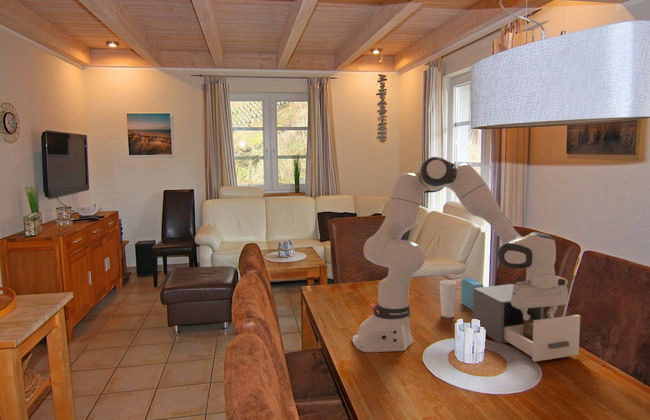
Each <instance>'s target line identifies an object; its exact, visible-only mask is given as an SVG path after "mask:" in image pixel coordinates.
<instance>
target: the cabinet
mask: <svg viewBox="0 0 650 420" xmlns="http://www.w3.org/2000/svg"><path fill="white" fill-rule="evenodd" d="M514 284H515V283H514ZM514 284H513V283H507V284H501V285H490V286H484V287H480V288H474V294H473V311H472V320H473V319H478V320H480V325H481V327H484V328H485V329H486V334H487V335H486V334H485V335H486V336H488V337H489V338H491V339H492V340H494V341H495V342H497V343H499V344H500V343H502V344H507V343H508V344H510V343H509V342H507V341H506V340H504V327H506V326H514V325H522V324H523V322H524V321H526V320H524V319H523V313H522V312H521V310H520V309H517V308H515V307H513V306H512V305H511V297H512V292H513V285H514ZM544 308H545V307H536V308H528V311H526V312H527V314H528V315H530V320H541V319H544V310H545V309H544Z"/></svg>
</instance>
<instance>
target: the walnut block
mask: <svg viewBox="0 0 650 420" xmlns="http://www.w3.org/2000/svg"><path fill="white" fill-rule="evenodd" d="M533 322H534V320H526V321H524V322H523V337H525V338H527V339H529V340H530V341H532V342H533Z"/></svg>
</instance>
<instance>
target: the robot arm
mask: <svg viewBox="0 0 650 420" xmlns="http://www.w3.org/2000/svg"><path fill="white" fill-rule="evenodd" d="M444 188H448V189H450V190H451V191H452V192H453V193H454V194H455V196H456V197H457V199H458V200H459V202H460V203H461V206H462V207H464V209H465V210H466V211H467V212H468V213H469V214H470V215H472V216H474V217H478V218H480V219H482V220H484V221H486V222H487V223H488V224H489V225H490V226H491V228H492V229H493V231H494V233H496V235H497V236H498V237H499V239H500V240H501V242H502V245H501V246H499V247H500V248H499V249H498V251H497V258H498V261H499V262H500V264H502V266H503V267H505V268H508V269H511V270H512V269H514V270H515V269H526V274H525V275H526V276H525V277H526V278H525V279H526V280H524V281H517V282H516V283H514V285H513V292H512V297H511V305H512V306H513V307H515V308H517V309H520V310H521V312H522V313H523V319H524V320H530V315H528V314H527V312H526V311H528V308H536V307H544V308H545V307H550V308H549V310H548V311H546V317H547V319H548V318H555V313H556V311H557V310H558V306H565V305H566V304H567V303H568V301H569V300H568V299H569V290H568V287H567V286H568V282H569V281H568V279H567V278H564V277H561V276H559V275H557V274H556V271H555V263H556V261H557V260H556V257H557V251H556V250H557V248H556V245H557V244H556V241H555V239H554V237H552V236H551V235H549V234H548V233H544V232H540V231H539V232H537V231H532V232H531V233H529V234H527V235H525V236H524V235H522V234H521V233H520V232H518V231H517V230H516V228H515V227H514V226H513V224H512V223H511V221H510V220H509V218H507V216H506V215H505V214H504V212H503V210H502V209H501V207H500V205H499V203H498V202H497V199H496V198H495V196H494V195H493V192H492V190H491V188H490V187H489V186H488V184H487V183H486V181H485V180H484V178H483V177H482V176H481V175H480V174H479V172H478V171H477V170H476V169H475V168H474V167H473V166H472V165H470V164H468V163H461V164H458V165H455V164H454V163H452V162H451V161H449V160H447V159H445V158H443V157H441V156H432V157H429V158H427V159H426V160H425V161H424V162H423V163H422V165H421V166H420V169H419V171H418V172H416V173H412V172H405V173H402V174H400V175H399V176H398V177H397V178H396V182H395V183H394V185H393V188H392V192H391V195H390V199H389V203H388V207H387V211H386V214H385V218H384V219H383V222H382V224H381V225H380V227H379V229H377V231H376V233H375V234H373V235H372V236H371V237H369V238H367V239H366V241H365V243H364V245H363V256H364V257H365V260H367V261H369V263H370V262H371V263H373V264H374V265H377V266H381V267H385V268H388V269H387V270H388V272H387V276H386V277H384V278H383V279H381V280H380V281H379V283H378V286H377V289H378V291H377V294H378V295H377V297H378V300H377V301H378V302H377V303H376V305H375V304H374V303H370V304H369V306H368V307H369V309H370V310H371V311H373V314H371V315H370V316H369V317H368V318H367V319H365V320H364V321H363V322H361V324H360V325H359V327H358V333H357V334H354V335H353V337H352V341H351V342H352V344H353V345H354V347H355V348H356V349H358V351H361V352H364V353H379V352H402V351H403V352H405V351H406V350H407V349H408V347H409V346H411V345H412V344H413V343H414V339H413V336H412V332H411V327H410V316H411V309H410V303H409V292H410V283H411V280H412V278H413V276H414V275H415V273H416V272H418V271H419V270H421V269H422V267H423V266H424V264H425V260H426V253H425V250H424V248H423V247H422V245H419V244H418V243H415V242H413V241H411V240H405V239H402V237H403V236H404V234H405V233H406V232H408V231H409V230H411V229H413V228H414V227H416V226H415V225H416V223H417V218H418V214H419V211H420V205H421V201H422V197H423V195H424V194H428V193H429V194H430V193H436V192H440V191H441V190H443V189H444Z"/></svg>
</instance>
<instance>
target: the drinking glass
mask: <svg viewBox="0 0 650 420" xmlns="http://www.w3.org/2000/svg"><path fill="white" fill-rule="evenodd" d="M439 297H440V298H439V299H440V311H441V312H440V313H441V314H440V315H441V317H443V318H448V319H449V318H453V317H455V308H456V300H457V299H456V298H457V282H456V281H455V280H452V279H443V280H440V281H439Z"/></svg>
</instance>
